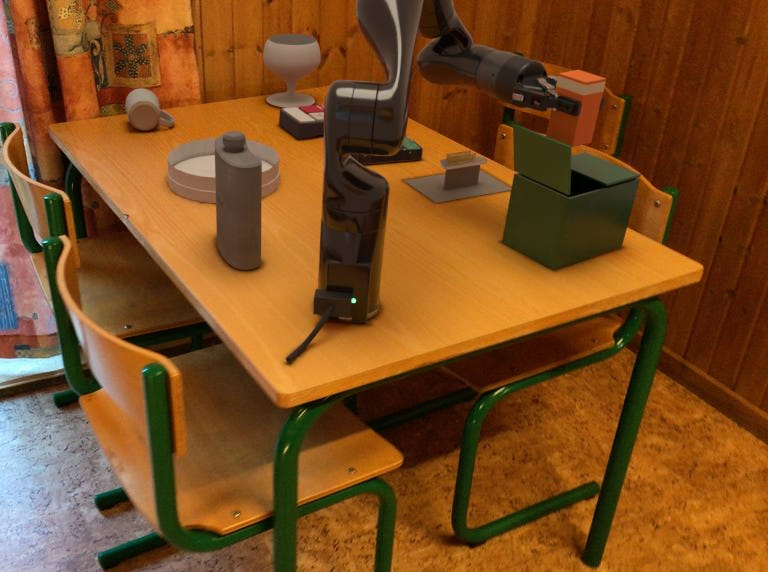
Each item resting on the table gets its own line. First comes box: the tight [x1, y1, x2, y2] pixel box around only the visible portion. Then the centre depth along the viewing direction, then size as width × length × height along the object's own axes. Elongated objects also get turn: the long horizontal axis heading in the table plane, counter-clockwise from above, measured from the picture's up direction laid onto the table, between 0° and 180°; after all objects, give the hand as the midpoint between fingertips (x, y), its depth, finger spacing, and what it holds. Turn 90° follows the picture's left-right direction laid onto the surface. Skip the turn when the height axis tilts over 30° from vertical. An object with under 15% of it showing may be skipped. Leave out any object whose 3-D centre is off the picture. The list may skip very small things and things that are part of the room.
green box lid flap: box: [512, 123, 573, 195], centre depth 132 cm, size 8×12×1 cm
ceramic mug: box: [124, 87, 175, 132], centre depth 190 cm, size 11×8×8 cm
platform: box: [403, 149, 512, 204], centre depth 166 cm, size 12×18×7 cm, turn 114°
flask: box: [215, 130, 263, 271], centre depth 136 cm, size 15×6×20 cm, turn 15°
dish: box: [166, 137, 281, 204], centre depth 165 cm, size 22×22×5 cm
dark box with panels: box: [278, 104, 325, 140], centre depth 193 cm, size 11×4×15 cm
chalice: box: [262, 33, 322, 108], centre depth 206 cm, size 14×14×15 cm
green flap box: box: [501, 152, 642, 271], centre depth 142 cm, size 17×12×13 cm
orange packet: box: [545, 69, 607, 148], centre depth 131 cm, size 4×6×10 cm
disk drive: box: [350, 133, 424, 165], centre depth 180 cm, size 10×3×15 cm
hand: (590, 106), depth 128 cm, fingers closed on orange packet, 4 cm apart
